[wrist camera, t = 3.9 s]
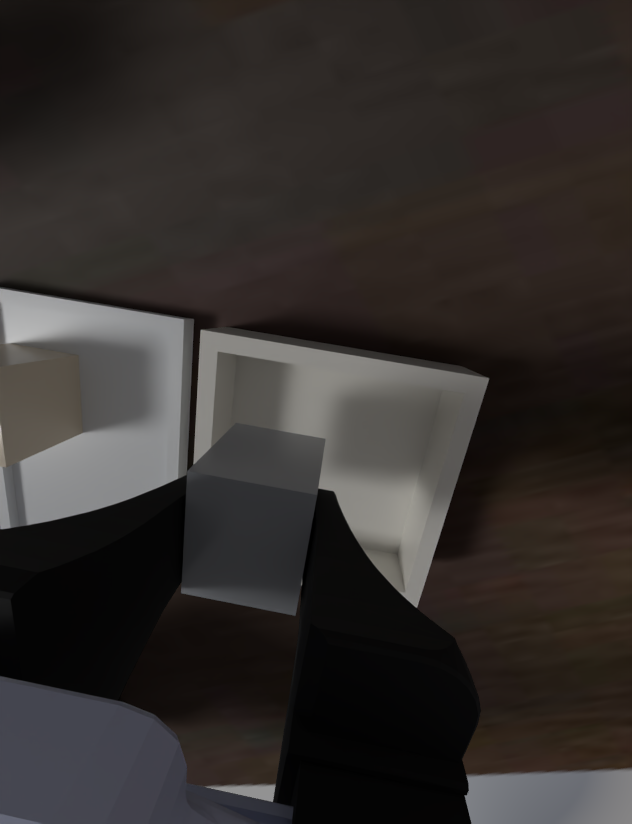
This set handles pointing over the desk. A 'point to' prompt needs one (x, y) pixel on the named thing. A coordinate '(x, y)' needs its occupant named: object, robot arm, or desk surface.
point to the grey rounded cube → (251, 517)
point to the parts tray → (102, 405)
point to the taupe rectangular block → (37, 400)
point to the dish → (353, 431)
